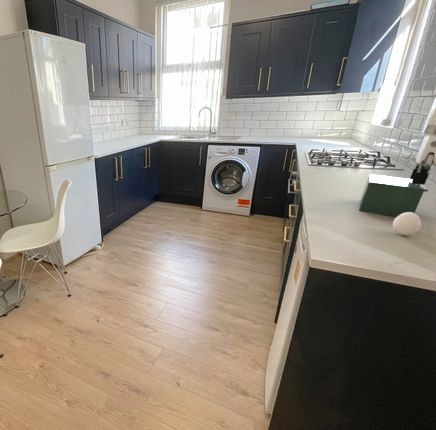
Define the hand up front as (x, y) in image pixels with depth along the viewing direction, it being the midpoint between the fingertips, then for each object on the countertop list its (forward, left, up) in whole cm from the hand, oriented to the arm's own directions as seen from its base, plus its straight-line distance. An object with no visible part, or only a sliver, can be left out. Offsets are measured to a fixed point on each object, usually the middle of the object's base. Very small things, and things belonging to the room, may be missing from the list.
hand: (416, 181), depth 102 cm
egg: (+2, +26, -13) cm, 29 cm away
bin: (+6, 0, -12) cm, 14 cm away
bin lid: (+5, 0, -2) cm, 6 cm away
